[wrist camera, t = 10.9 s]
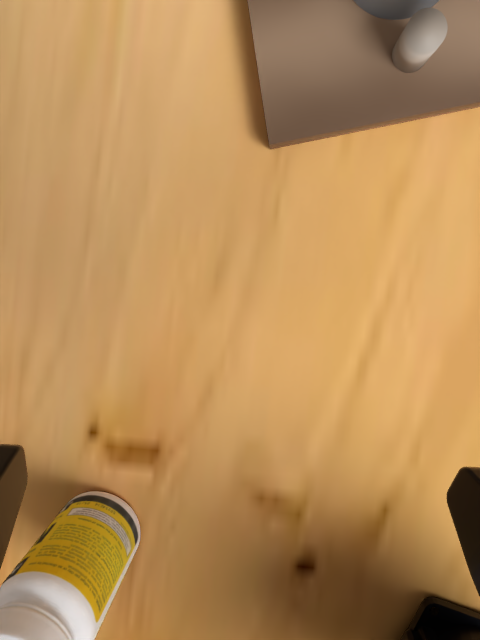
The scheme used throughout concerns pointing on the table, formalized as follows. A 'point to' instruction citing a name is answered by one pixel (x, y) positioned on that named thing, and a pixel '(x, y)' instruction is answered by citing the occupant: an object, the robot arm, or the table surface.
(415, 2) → the pepper mill
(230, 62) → the table surface
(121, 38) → the table surface
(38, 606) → the supplement bottle
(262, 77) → the brown pegged base plate
